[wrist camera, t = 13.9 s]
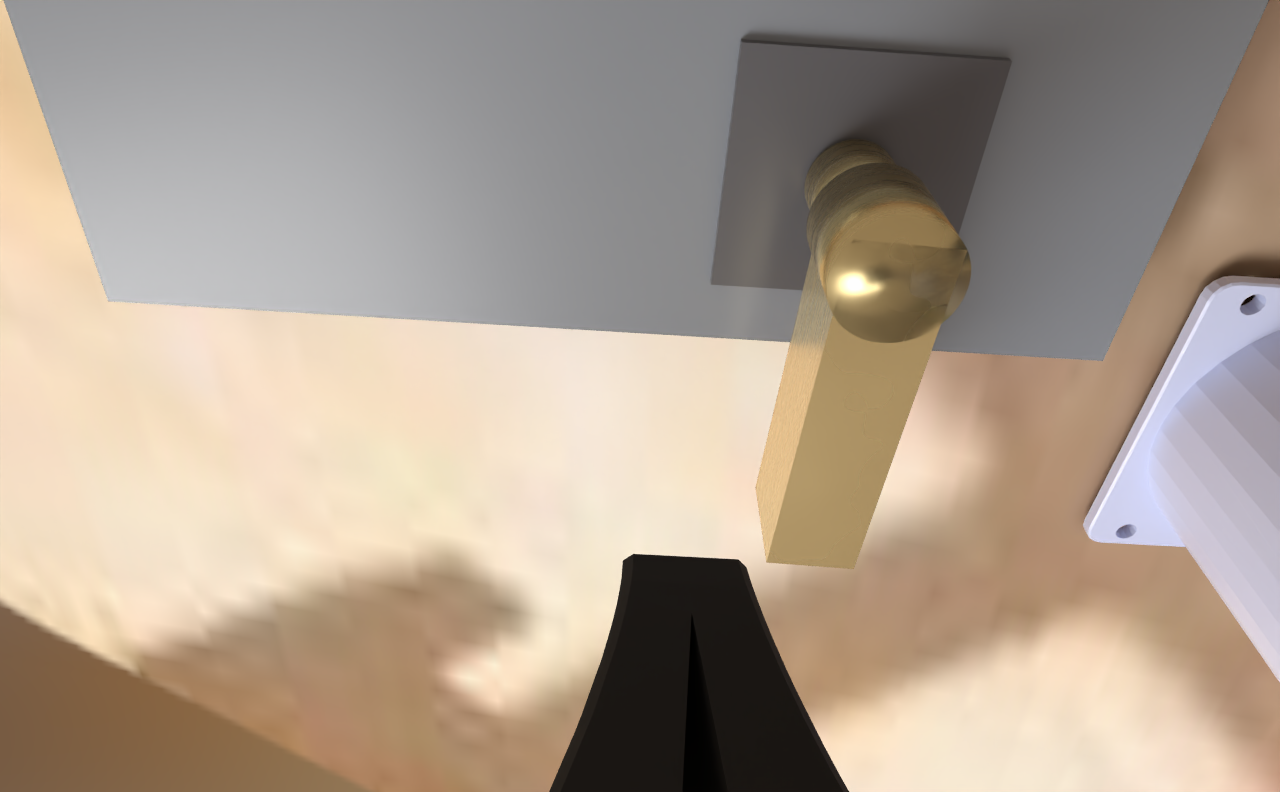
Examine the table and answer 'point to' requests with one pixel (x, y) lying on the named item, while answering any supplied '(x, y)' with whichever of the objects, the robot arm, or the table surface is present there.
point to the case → (621, 151)
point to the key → (854, 350)
